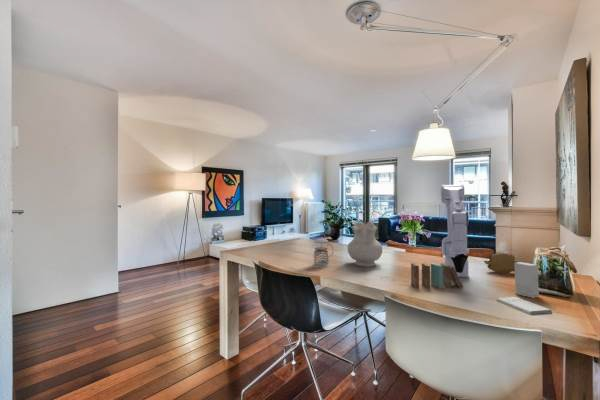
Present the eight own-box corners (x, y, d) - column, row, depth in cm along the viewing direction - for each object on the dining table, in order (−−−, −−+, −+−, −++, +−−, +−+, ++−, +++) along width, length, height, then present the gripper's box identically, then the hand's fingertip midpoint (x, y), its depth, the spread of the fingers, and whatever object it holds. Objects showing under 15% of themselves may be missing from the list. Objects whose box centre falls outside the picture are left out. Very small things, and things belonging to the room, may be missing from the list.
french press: (313, 263, 162) (313, 220, 162) (333, 264, 160) (333, 220, 160) (311, 267, 152) (311, 221, 152) (333, 268, 150) (332, 221, 150)
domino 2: (425, 284, 121) (425, 263, 121) (430, 287, 116) (430, 266, 116) (421, 284, 121) (421, 263, 121) (426, 287, 116) (426, 265, 116)
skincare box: (539, 297, 105) (539, 264, 105) (533, 298, 103) (532, 265, 103) (520, 292, 110) (520, 261, 110) (514, 293, 108) (513, 262, 108)
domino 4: (447, 283, 121) (444, 263, 121) (452, 287, 116) (449, 265, 116) (443, 284, 121) (440, 263, 121) (448, 288, 116) (445, 266, 116)
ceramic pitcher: (386, 271, 147) (390, 224, 147) (349, 268, 147) (353, 221, 148) (376, 262, 169) (379, 221, 169) (344, 260, 169) (347, 219, 169)
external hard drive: (530, 316, 89) (496, 302, 101) (551, 314, 90) (516, 300, 102) (530, 311, 89) (496, 297, 101) (551, 309, 90) (516, 296, 102)
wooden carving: (518, 272, 141) (518, 252, 141) (523, 274, 136) (523, 254, 136) (482, 270, 143) (482, 251, 143) (486, 273, 139) (486, 253, 139)
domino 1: (414, 283, 122) (414, 263, 122) (419, 287, 117) (418, 265, 117) (411, 283, 122) (411, 263, 122) (415, 287, 117) (414, 265, 117)
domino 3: (434, 284, 121) (433, 263, 121) (442, 287, 116) (442, 265, 116) (430, 284, 121) (430, 263, 121) (439, 287, 116) (439, 266, 116)
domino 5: (457, 283, 120) (447, 264, 121) (463, 286, 115) (453, 266, 116) (454, 284, 120) (444, 265, 121) (459, 288, 115) (449, 268, 116)
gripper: (456, 237, 125) (456, 267, 125) (441, 240, 117) (441, 273, 117) (474, 239, 120) (474, 270, 120) (459, 242, 111) (459, 276, 111)
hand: (459, 272), depth 118 cm, fingers closed
